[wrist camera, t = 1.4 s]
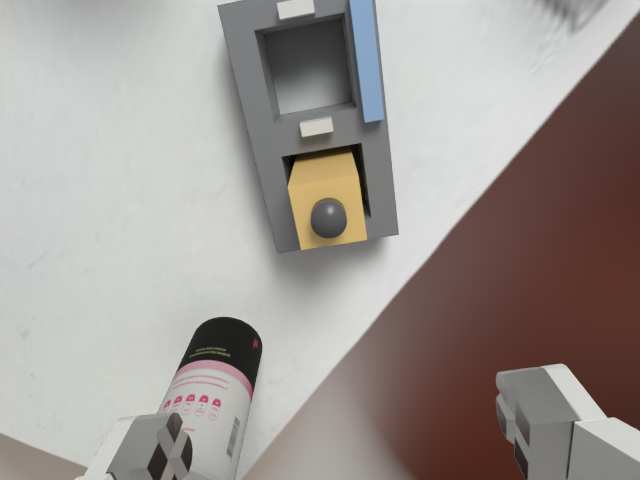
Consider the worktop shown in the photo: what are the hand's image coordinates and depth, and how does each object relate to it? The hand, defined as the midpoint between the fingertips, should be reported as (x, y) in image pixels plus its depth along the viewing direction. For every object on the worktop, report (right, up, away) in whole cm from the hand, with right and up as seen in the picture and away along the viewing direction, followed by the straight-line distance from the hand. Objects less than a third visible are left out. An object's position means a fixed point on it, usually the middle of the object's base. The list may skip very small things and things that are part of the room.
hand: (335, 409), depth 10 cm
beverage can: (-9, -5, +28) cm, 30 cm away
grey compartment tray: (-1, +13, +19) cm, 23 cm away
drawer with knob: (0, +10, +21) cm, 23 cm away
